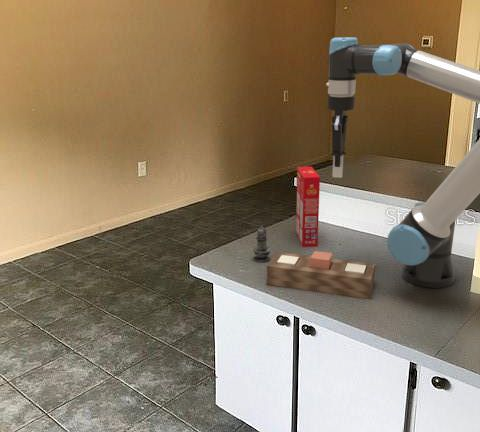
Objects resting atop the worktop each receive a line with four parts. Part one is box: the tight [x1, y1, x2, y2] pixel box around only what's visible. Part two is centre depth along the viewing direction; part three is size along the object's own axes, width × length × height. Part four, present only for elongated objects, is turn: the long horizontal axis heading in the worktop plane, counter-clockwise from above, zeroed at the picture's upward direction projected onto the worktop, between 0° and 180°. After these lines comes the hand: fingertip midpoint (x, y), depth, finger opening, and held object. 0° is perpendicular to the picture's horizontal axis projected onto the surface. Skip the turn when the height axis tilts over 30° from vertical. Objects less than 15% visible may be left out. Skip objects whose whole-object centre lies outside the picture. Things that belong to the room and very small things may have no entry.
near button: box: [345, 263, 366, 275], centre depth 155 cm, size 5×5×4 cm
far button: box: [277, 255, 299, 266], centre depth 161 cm, size 5×5×4 cm
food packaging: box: [295, 166, 321, 248], centre depth 190 cm, size 15×5×25 cm, turn 3°
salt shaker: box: [252, 224, 271, 263], centre depth 175 cm, size 6×6×12 cm
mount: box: [266, 251, 376, 300], centre depth 159 cm, size 30×11×6 cm, turn 71°
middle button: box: [310, 250, 333, 270], centre depth 157 cm, size 5×5×4 cm
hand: (337, 176), depth 158 cm, fingers closed
